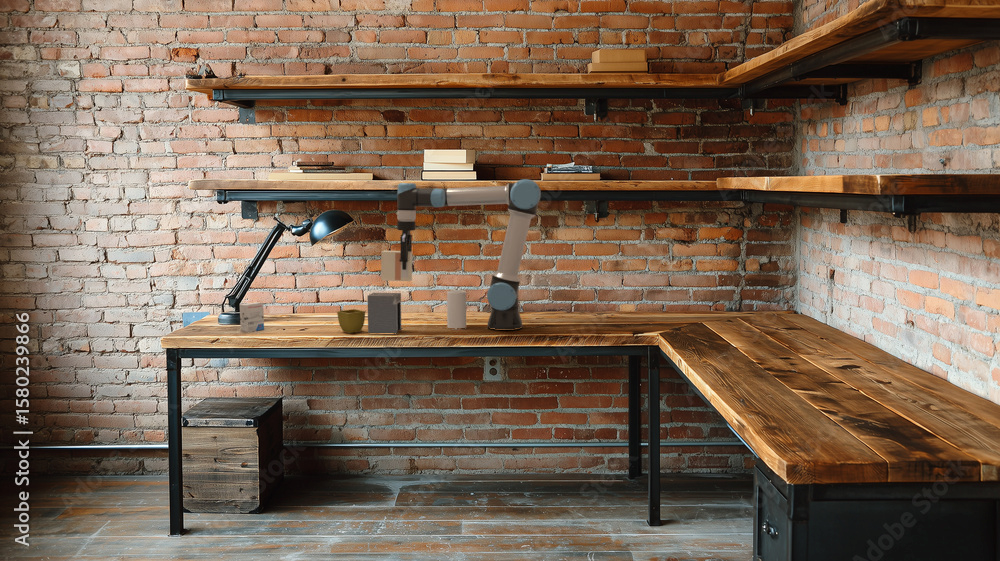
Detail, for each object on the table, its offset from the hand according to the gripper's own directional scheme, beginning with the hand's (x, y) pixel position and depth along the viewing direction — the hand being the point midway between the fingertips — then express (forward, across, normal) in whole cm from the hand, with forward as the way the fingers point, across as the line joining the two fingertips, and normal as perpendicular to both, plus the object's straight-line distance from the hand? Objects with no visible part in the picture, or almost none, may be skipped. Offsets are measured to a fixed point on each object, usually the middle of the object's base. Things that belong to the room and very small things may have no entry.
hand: (405, 276), depth 306 cm
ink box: (+25, 0, -66) cm, 70 cm away
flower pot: (+24, +1, -23) cm, 33 cm away
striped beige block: (+2, 0, -4) cm, 4 cm away
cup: (+23, -12, +20) cm, 33 cm away
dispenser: (+24, 0, -9) cm, 25 cm away
